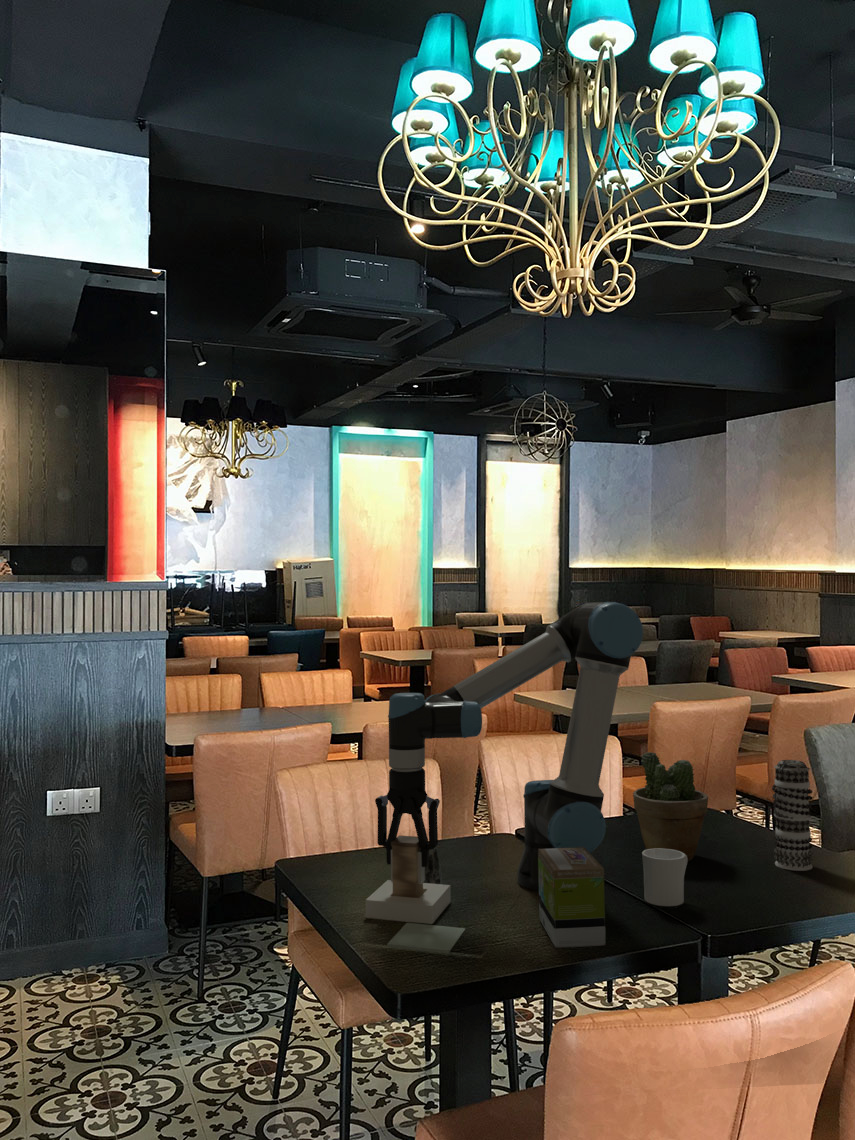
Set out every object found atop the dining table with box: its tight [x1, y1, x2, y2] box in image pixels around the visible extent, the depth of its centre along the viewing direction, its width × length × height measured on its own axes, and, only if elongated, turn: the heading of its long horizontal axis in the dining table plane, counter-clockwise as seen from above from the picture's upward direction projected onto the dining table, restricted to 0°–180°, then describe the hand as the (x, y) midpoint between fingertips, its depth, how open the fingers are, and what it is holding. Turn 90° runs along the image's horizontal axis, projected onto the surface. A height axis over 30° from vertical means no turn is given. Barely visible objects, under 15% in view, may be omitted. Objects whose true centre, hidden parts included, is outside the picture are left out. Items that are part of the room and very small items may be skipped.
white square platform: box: [365, 879, 452, 925], centre depth 194 cm, size 14×14×4 cm
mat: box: [386, 922, 467, 955], centre depth 178 cm, size 12×12×1 cm
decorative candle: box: [771, 759, 814, 872], centre depth 226 cm, size 9×9×25 cm
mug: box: [641, 848, 689, 909], centre depth 200 cm, size 11×9×10 cm
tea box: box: [538, 847, 606, 948], centre depth 181 cm, size 15×10×15 cm, turn 5°
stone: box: [423, 847, 443, 885], centre depth 212 cm, size 10×10×10 cm
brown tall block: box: [391, 835, 423, 898], centre depth 194 cm, size 5×5×14 cm
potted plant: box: [632, 751, 709, 862], centre depth 235 cm, size 18×19×25 cm
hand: (407, 880), depth 194 cm, fingers closed on brown tall block, 5 cm apart
